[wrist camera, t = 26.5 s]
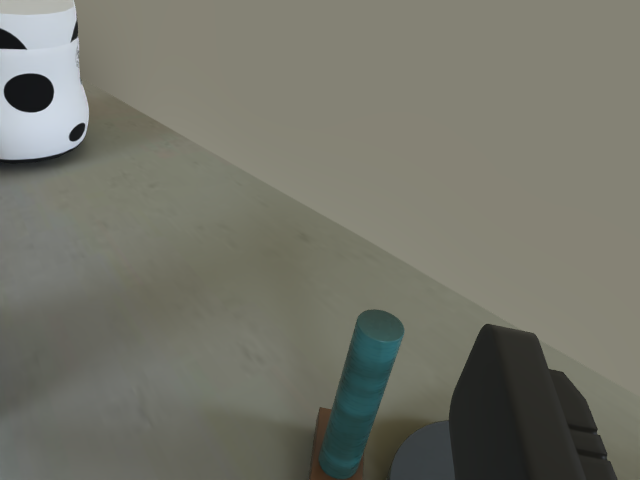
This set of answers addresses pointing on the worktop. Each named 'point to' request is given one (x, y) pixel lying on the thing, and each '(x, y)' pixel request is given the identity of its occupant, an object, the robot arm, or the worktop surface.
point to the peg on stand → (356, 398)
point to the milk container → (40, 81)
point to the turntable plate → (425, 455)
